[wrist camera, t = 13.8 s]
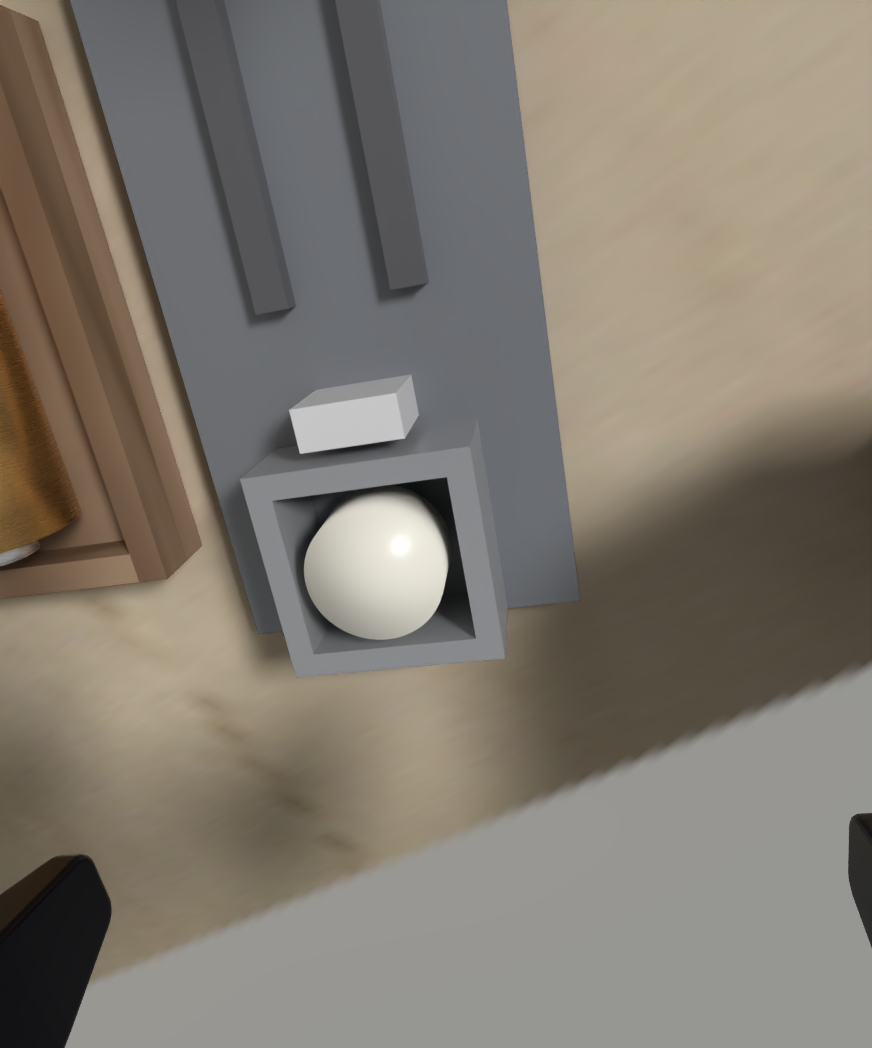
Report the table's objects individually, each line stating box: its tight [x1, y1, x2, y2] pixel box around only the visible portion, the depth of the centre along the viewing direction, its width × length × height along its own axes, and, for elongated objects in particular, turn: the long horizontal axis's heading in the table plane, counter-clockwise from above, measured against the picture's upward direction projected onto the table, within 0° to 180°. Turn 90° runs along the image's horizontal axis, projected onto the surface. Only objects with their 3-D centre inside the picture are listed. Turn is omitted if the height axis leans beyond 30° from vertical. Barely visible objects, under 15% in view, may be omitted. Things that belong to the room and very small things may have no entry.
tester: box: [70, 0, 580, 678], centre depth 16 cm, size 9×18×4 cm, turn 10°
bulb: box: [304, 485, 452, 640], centre depth 17 cm, size 3×3×2 cm
